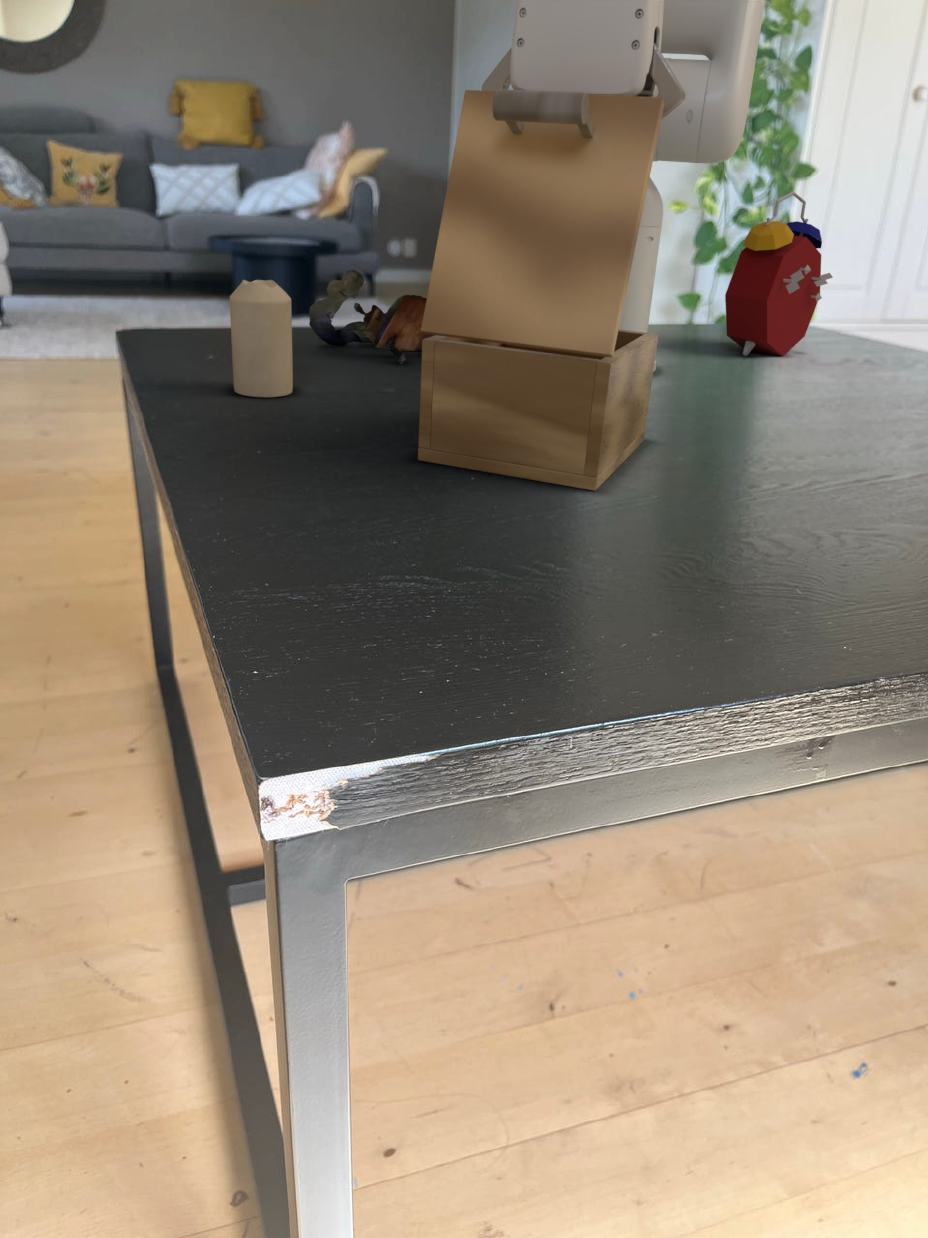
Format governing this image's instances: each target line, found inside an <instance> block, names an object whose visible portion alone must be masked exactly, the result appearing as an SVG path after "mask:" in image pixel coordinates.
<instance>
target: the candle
mask: <svg viewBox="0 0 928 1238" xmlns="http://www.w3.org/2000/svg"><path fill="white" fill-rule="evenodd" d="M292 311H293V310H292V298H291V296H290V295H289V294H288V293H287V292H286V291H285V290H284V289H283V288H282V287H281V286H280V285H279V284H278V283H277V282H275V281H274V280H273V279H268V280H267V279H266V280H263V279H255V280H253V281H248V280H246V279H243V280H241V282H240V284H239V285H238V286H237V287H236V288H235V289H234V291H232V293H231V294H230V295H229V314H230V315H229V317H230V337H231V359H232V360H231V361H232V362H231V363H232V377H233V379H232V380H233V381H232V382H233V390H234V392H235V393H236V394H239V395H241V396H246V397H254V398H277V397H284V396H289V395H291V394H293V391H294V390H293V388H294V387H293V386H294V384H293V383H294V373H293V372H294V371H293V370H294V369H293V317H292V315H293V314H292Z"/></svg>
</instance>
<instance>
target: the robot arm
mask: <svg viewBox="0 0 928 1238" xmlns="http://www.w3.org/2000/svg"><path fill="white" fill-rule="evenodd" d="M764 7H765V0H517V3H516V10H515V17H514V24H513V32H512V39H511V47H510V49H508V51H507V52H506V54H505V55H504V56H503V57H502V58H501V60H500V61H499V62H498V64H497V65H496V66H495V68H494V69H493V70H492V71H491V72H490V74H489V75H488V77H487V78H486V79H485V80H484V82H483V83H482V85H481V91H496V90H498V89H504V90H510V89H509V88H510V86H511V88H512V90H531V91H558V92H585V93H588V95H612V96H638V97H662V98H663V99H664V103H665V104H664V109H663V114H662V118H661V123H660V128H659V133H658V138H657V143H656V148H655V153H654V158H653V162H674V163H688V164H689V163H690V164H720V163H723V162H726V161H728V160H729V159H731V158H732V157H733V156H734V155H735V153H737V151H738V149H739V147H740V144H741V142H742V140H743V136H744V133H745V128H746V124H747V118H748V112H749V108H750V100H751V94H752V87H753V81H754V74H755V67H756V62H757V55H758V48H759V41H760V35H761V29H762V22H763V16H764ZM663 54H667V55H693V56H694V55H696V56H705V57H706V58H707V59H688V58H687V59H685V58H671V57H664V55H663ZM663 220H664V202H663V198H662V196H661V193H660V191H659V189H658V187H657V186H656V184H655V182H654V180H652V178H651V176H650V177H649V182H648V187H647V192H646V197H645V202H644V207H643V212H642V217H641V222H640V227H639V231H638V236H637V241H636V246H635V251H634V256H633V261H632V266H631V271H630V276H629V281H628V286H627V290H626V295H625V300H624V305H623V310H622V315H621V320H620V325H619V329H620V330H629V331H637V332H646V333H648V329H649V323H650V316H651V308H652V301H653V293H654V287H655V279H656V272H657V265H658V257H659V249H660V242H661V235H662V229H663ZM657 362H658V361H657V360H656V359H655V363H654V370H653V373H654V372H655V371H656V370H657Z"/></svg>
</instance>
